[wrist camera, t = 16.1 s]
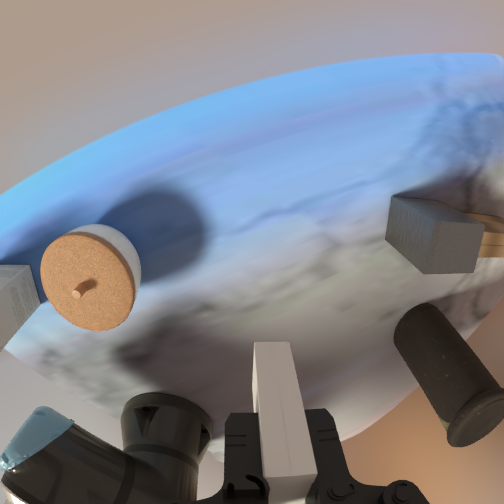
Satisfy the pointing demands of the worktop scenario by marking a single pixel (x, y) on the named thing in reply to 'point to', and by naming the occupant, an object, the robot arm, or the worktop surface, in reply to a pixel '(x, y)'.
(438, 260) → the grey angled block
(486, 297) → the worktop surface
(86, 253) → the lidded jar
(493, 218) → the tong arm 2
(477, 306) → the worktop surface
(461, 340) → the container
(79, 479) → the robot arm
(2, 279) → the skincare box
